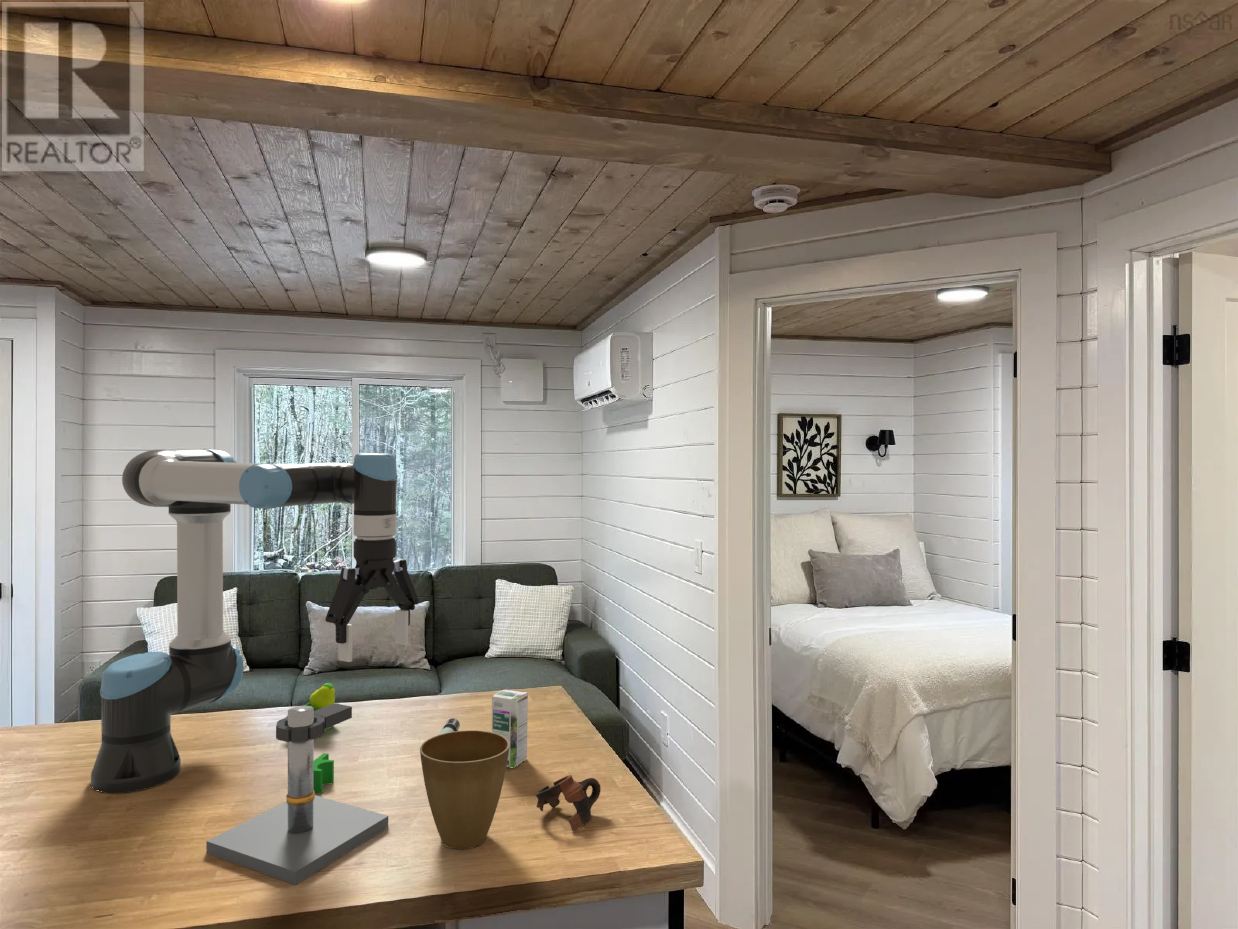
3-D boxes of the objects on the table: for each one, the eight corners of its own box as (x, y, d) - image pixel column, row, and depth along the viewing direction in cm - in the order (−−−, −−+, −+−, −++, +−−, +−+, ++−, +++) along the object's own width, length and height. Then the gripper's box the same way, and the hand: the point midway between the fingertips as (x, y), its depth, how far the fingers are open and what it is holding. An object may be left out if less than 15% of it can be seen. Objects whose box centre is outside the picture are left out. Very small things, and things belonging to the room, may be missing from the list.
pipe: (280, 830, 131) (280, 711, 130) (301, 819, 135) (301, 703, 134) (299, 836, 129) (299, 716, 128) (320, 825, 133) (320, 708, 132)
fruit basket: (310, 722, 187) (311, 675, 187) (346, 724, 186) (346, 677, 186) (284, 739, 176) (284, 689, 175) (321, 742, 175) (321, 692, 174)
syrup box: (490, 765, 163) (490, 696, 163) (504, 754, 169) (505, 687, 168) (514, 769, 161) (514, 699, 161) (528, 759, 167) (528, 691, 166)
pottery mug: (561, 841, 134) (541, 794, 136) (542, 842, 141) (523, 798, 143) (617, 805, 140) (597, 761, 142) (596, 808, 148) (578, 767, 150)
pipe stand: (206, 853, 127) (206, 841, 127) (304, 803, 145) (304, 792, 145) (295, 885, 118) (295, 871, 118) (388, 827, 136) (388, 815, 136)
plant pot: (515, 854, 128) (516, 757, 128) (421, 867, 124) (421, 766, 123) (502, 812, 142) (503, 725, 142) (417, 823, 138) (418, 733, 138)
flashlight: (449, 758, 163) (467, 723, 183) (431, 748, 163) (450, 714, 183) (442, 771, 163) (460, 735, 183) (423, 761, 163) (443, 726, 183)
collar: (266, 737, 130) (266, 725, 130) (328, 712, 142) (328, 701, 141) (299, 745, 126) (299, 732, 126) (359, 719, 138) (359, 708, 138)
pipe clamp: (312, 802, 146) (312, 777, 146) (293, 800, 147) (293, 776, 147) (341, 776, 157) (340, 753, 157) (323, 775, 158) (323, 752, 158)
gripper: (334, 546, 132) (333, 671, 132) (437, 532, 153) (436, 640, 154) (304, 542, 135) (303, 665, 136) (409, 529, 157) (408, 635, 158)
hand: (374, 652), depth 145 cm, fingers open, 13 cm apart
